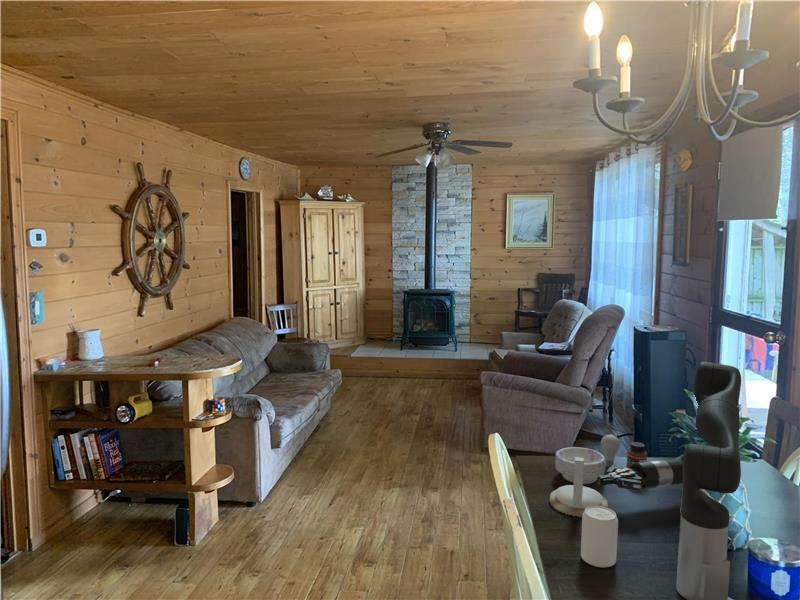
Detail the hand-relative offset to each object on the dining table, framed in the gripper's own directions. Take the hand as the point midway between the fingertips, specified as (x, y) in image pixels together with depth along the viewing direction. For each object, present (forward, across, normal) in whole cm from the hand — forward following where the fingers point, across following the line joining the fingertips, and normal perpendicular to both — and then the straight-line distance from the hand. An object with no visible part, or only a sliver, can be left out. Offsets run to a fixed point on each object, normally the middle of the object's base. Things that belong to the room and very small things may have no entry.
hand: (598, 480), depth 163 cm
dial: (+3, -5, +7) cm, 9 cm away
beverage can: (+14, +22, +9) cm, 27 cm away
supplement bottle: (-25, -17, +9) cm, 32 cm away
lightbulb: (-22, -27, +9) cm, 36 cm away
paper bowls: (-7, -21, +9) cm, 24 cm away
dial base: (+3, -5, +9) cm, 11 cm away
